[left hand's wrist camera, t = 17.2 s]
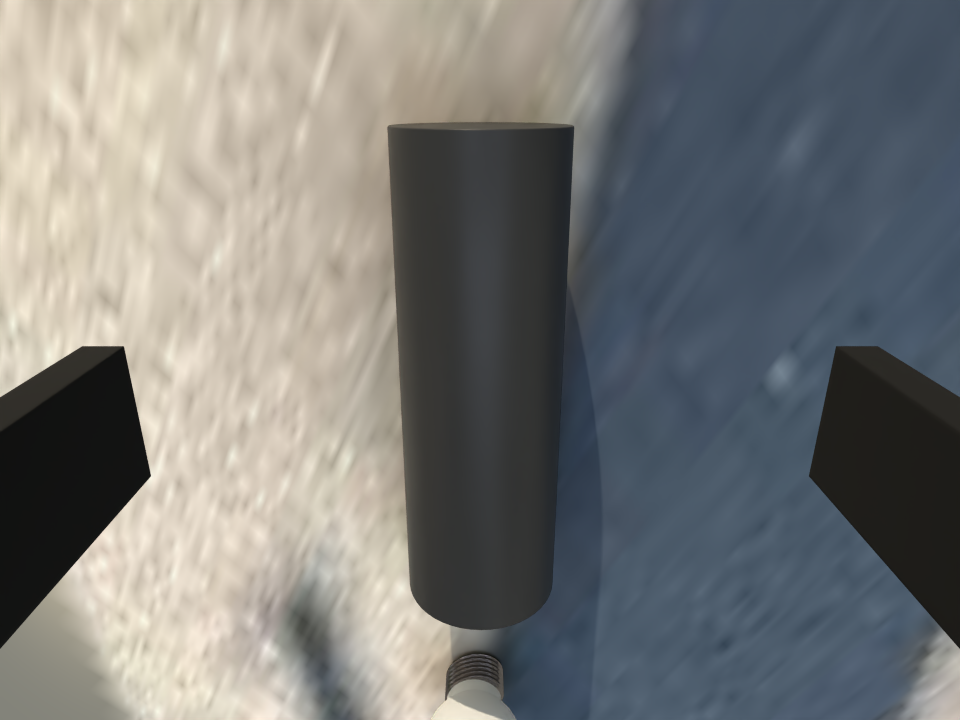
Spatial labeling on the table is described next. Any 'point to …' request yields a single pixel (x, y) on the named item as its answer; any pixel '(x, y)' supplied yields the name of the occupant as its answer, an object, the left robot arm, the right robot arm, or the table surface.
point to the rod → (481, 359)
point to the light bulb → (474, 691)
